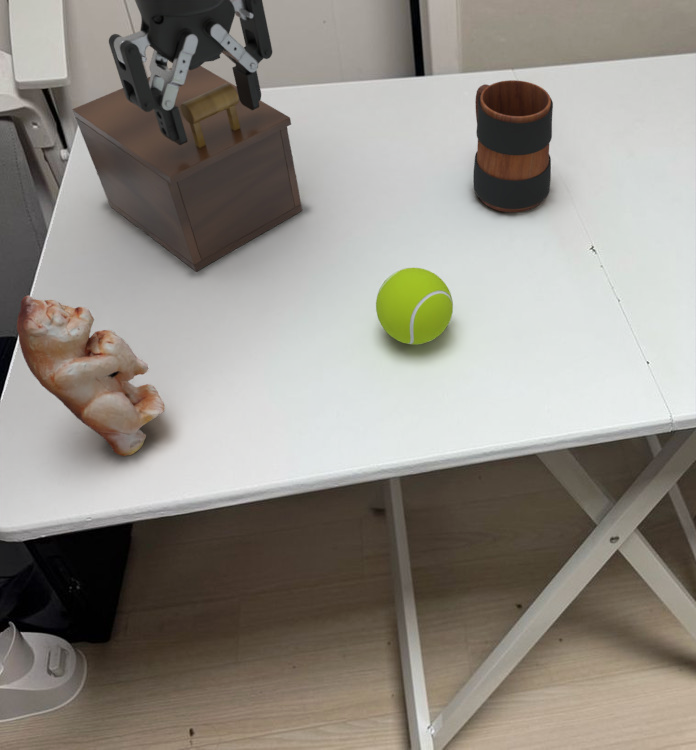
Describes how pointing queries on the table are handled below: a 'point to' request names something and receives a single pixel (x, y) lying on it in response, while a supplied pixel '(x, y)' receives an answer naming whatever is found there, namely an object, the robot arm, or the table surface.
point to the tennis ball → (414, 306)
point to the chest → (202, 196)
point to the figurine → (88, 371)
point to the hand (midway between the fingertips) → (215, 122)
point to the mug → (513, 145)
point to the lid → (200, 120)
